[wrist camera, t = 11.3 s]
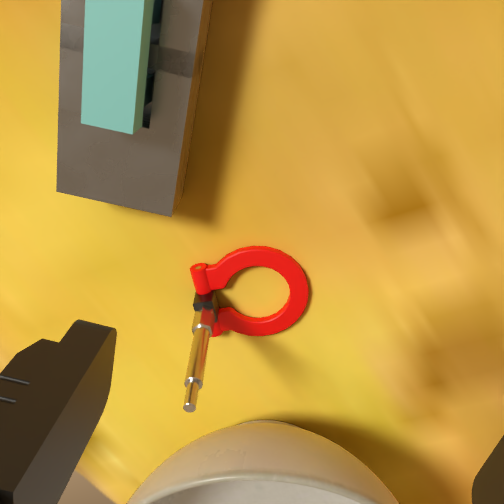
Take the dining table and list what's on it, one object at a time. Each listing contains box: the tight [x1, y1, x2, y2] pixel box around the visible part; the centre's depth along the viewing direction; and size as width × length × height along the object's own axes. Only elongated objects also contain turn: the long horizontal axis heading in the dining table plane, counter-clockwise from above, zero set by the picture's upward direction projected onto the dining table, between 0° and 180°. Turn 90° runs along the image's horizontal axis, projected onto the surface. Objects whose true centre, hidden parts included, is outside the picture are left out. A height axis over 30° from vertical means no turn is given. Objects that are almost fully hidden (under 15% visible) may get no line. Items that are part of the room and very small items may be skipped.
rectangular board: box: [56, 0, 213, 217], centre depth 30 cm, size 20×8×4 cm, turn 168°
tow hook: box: [183, 246, 309, 412], centre depth 35 cm, size 8×13×9 cm
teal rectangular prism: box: [81, 0, 162, 134], centre depth 28 cm, size 8×3×6 cm, turn 169°
